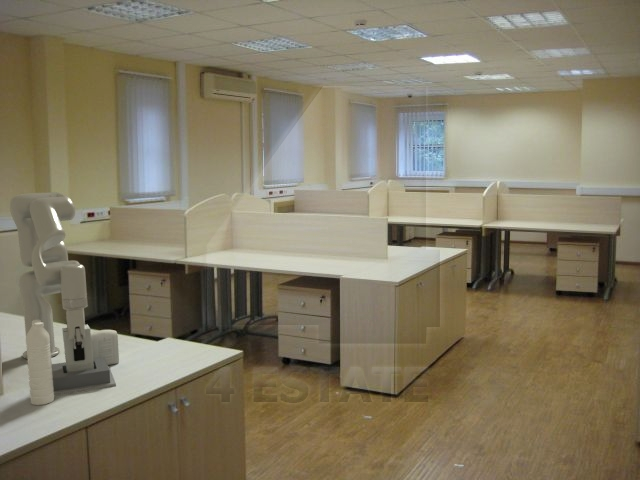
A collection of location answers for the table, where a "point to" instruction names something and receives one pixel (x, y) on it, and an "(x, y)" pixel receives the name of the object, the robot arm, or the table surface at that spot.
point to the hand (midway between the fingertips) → (78, 356)
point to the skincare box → (69, 353)
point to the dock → (82, 378)
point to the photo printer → (105, 345)
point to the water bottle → (39, 364)
